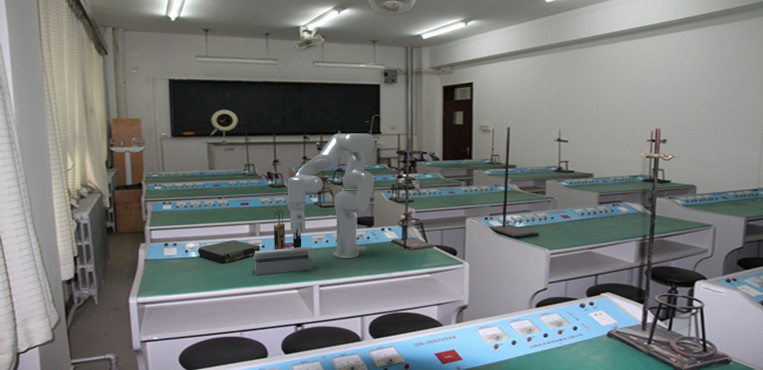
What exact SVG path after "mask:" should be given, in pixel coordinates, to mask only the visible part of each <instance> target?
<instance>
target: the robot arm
mask: <svg viewBox="0 0 763 370" xmlns="http://www.w3.org/2000/svg"><path fill="white" fill-rule="evenodd" d="M330 137H331V138H330V139H329V140H328V141H327V143H326V144H325V145H324V147H323V148H322V149H321V151H320V153H319V154H318V155H316V156H314V157H313V158H312V159H311V160H309V161H307V162H306V163H304V164H303V165H302V166H301V167H300V168H299V170H298V171H297V172H296V173H295V176H290V177H288V179H287V210H289V211H290V218H289V219H290V229H291V231H292V232H293V233H292V235H293V239H292V241H293V242H292V243H293V244H292V246H293V247H292V248H301V247H302V232H303V233H305V232H306V219H305V210H307V209H306V208H307V207H306V202H307V201H306V200H307V199H306V194H315V193H318V192H320V191H321V190H322V189H323V187H324V186H323V185H324V183H323V180H322V179H321V178H320V177H318V175H317V176H316V174H317V173H320V172H322V171H326V170H329V169H331V168H333V167H334V166H335V165H336V163H337V162H338V160H339V159H340V158H341V156H342V155H343V153H346V154H347V159H348V160H347V165H346V167H345V168H346V169H345V172H344V175H343V179H342V185H343V187H344V188H346V189H348V190H354V191H348V190H342V191H339V192H338V193H336V195H335V196H334V201H333V203H334V209H335V215H336V251H334V252H333V256H334V257H335V258H339V259H354V258H357V257H359V256H360V251H362V252H363V251H366V250H367V248H366V246H359V245H357V217H356V214H355V213H358V214H362V213H364V212H366V211H367V209H368V208H369V204H370V201H371V197H372V194H373V190H374V185H375V180H374V179H375V178H374V175H373V174H372V172H369V171H367V170H365V166H366V159H365V155H364V154H363V153H366V152H371V151H372V150H373V149H374V147H375V143H376V142H375V138H374V136H373V135H372V134H369V133H352V132H351V133H336V134H334V135H332V136H330Z"/></svg>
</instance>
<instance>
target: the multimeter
mask: <svg viewBox="0 0 763 370" xmlns="http://www.w3.org/2000/svg"><path fill="white" fill-rule="evenodd" d="M280 212H281V213H282V216H281V215H280V213H279V212H276V213H274V215H273V217H276V216H275V215H276V214H277V215H278V217H277V218H278V219H277V221H278V222H277V223H278V224H274V225H273V243H274V244H273V246H274V249H273V250H277V249H286V247H288V248H290V246H289V245H285V244H286V240H285V239H286V233H285V231H286V230H285V229H286V228H285V227H286V225H285V223H284V213H283V211H282V210H280ZM281 217H282V219H281ZM281 220H282V223H281Z"/></svg>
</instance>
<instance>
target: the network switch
mask: <svg viewBox="0 0 763 370" xmlns="http://www.w3.org/2000/svg"><path fill="white" fill-rule="evenodd" d="M255 251H261V248H260V245H257V244H252V243H248V242H245V241H239V240H236V239H234V240H227V241H223V242H218V243H213V244H207V245H204V246H200V247H199V248H198V255H199V256H200V257H201V258H205V259H208V260H211V261H214V262H216V263H220V264H227V263H229V262H233V261H237V260H241V259H243V258H247V257H248V258H249V257H251V256H254V254H255Z"/></svg>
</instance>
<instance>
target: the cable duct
mask: <svg viewBox="0 0 763 370" xmlns="http://www.w3.org/2000/svg"><path fill="white" fill-rule="evenodd" d="M253 262H254V264H253V265H254V266H253V267H254V273H255V276H261V275H269V274H270V275H272V274H282V272H283V273H290V271H291V272H292V271H293V272H301V271H310V270H313V258H312V257H311V255H309V254H308V255H297V256H286V257H275V258H264V259H254V258H253Z"/></svg>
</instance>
